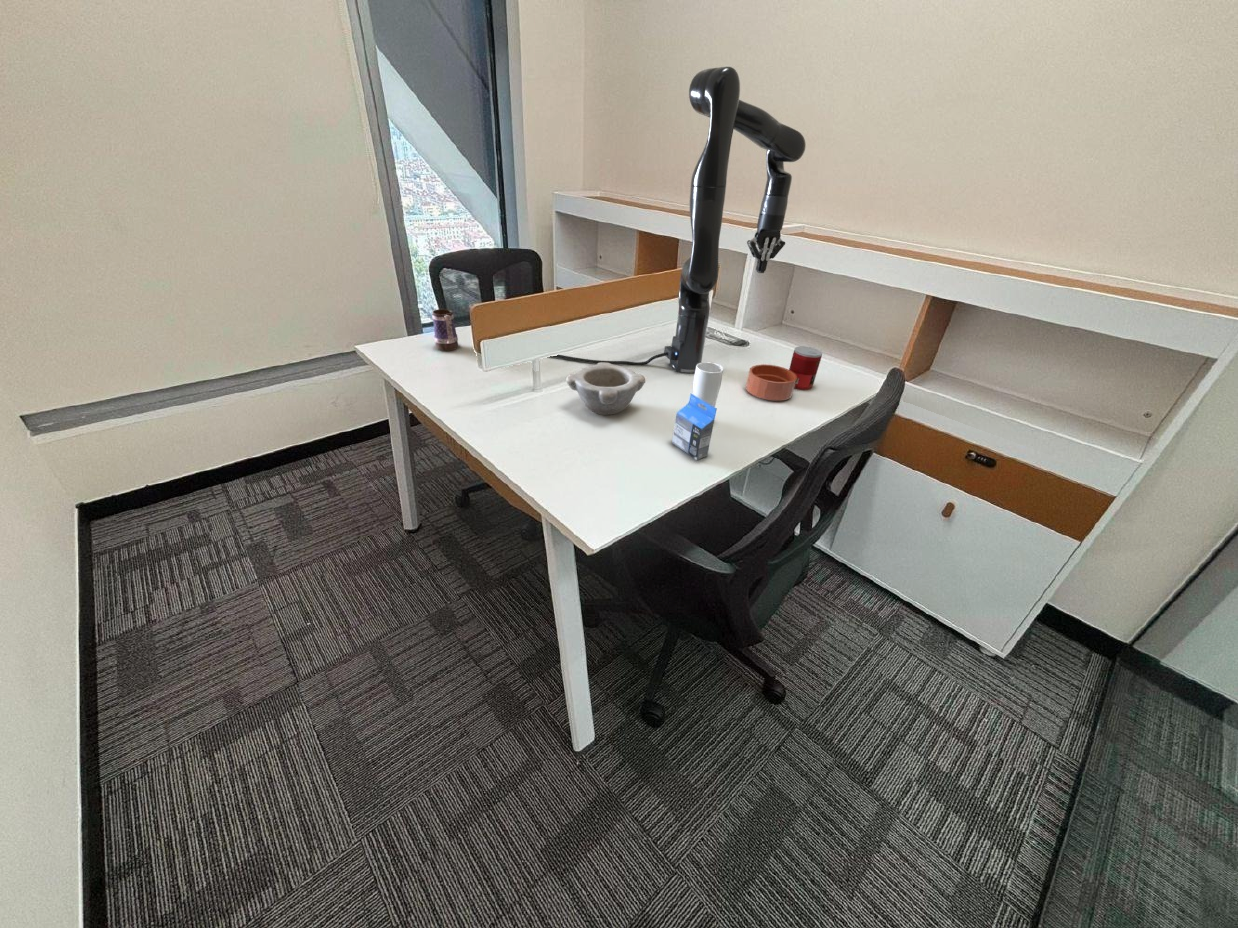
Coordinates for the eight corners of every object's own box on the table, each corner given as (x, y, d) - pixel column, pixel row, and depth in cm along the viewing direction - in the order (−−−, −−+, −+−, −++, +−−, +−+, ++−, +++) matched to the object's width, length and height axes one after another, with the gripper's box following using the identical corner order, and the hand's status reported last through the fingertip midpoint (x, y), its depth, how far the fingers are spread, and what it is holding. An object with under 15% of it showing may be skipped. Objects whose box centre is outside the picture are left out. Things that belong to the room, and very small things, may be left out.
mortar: (560, 405, 131) (560, 373, 126) (604, 388, 142) (606, 357, 137) (605, 429, 122) (607, 396, 117) (649, 408, 133) (652, 377, 128)
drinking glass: (707, 430, 125) (717, 375, 117) (683, 422, 128) (691, 367, 119) (717, 420, 130) (728, 366, 121) (694, 412, 132) (702, 359, 124)
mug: (433, 345, 162) (428, 308, 155) (455, 342, 165) (451, 306, 158) (440, 356, 155) (435, 317, 148) (463, 353, 158) (459, 315, 151)
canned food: (814, 391, 149) (824, 356, 143) (787, 388, 150) (796, 353, 144) (810, 381, 155) (819, 347, 149) (784, 378, 156) (792, 344, 150)
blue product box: (671, 443, 119) (677, 396, 112) (683, 439, 120) (690, 392, 114) (696, 460, 113) (704, 412, 106) (708, 456, 115) (717, 408, 108)
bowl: (761, 404, 139) (766, 384, 136) (737, 384, 150) (740, 366, 147) (800, 400, 143) (806, 380, 140) (774, 381, 154) (779, 362, 151)
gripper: (783, 210, 153) (771, 269, 163) (746, 209, 149) (736, 270, 159) (798, 214, 148) (784, 275, 157) (760, 213, 144) (748, 275, 153)
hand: (760, 272), depth 158 cm, fingers closed
